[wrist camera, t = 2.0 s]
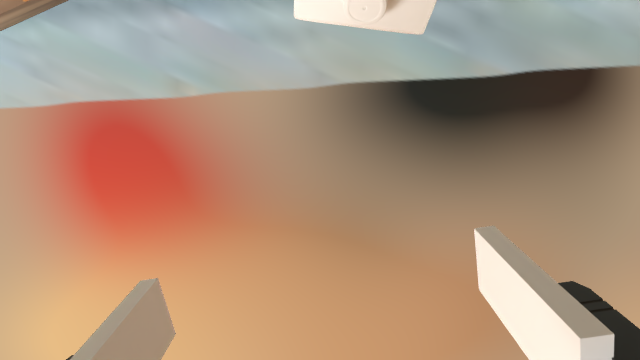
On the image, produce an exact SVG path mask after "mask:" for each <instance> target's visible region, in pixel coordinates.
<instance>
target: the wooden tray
mask: <svg viewBox="0 0 640 360" xmlns="http://www.w3.org/2000/svg"><path fill="white" fill-rule="evenodd" d="M66 1H68V0H0V31H2V30H4V29H6V28H8V27H11V26H13V25H15V24H17V23H19V22H22V21H24V20H26V19H28V18H30V17H33V16H35V15H37V14H39V13H41V12H44V11H46V10H48V9H50V8H53V7H55V6H57V5H59V4H61V3H64V2H66Z"/></svg>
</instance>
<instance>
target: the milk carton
mask: <svg viewBox="0 0 640 360" xmlns="http://www.w3.org/2000/svg"><path fill="white" fill-rule="evenodd" d="M436 1H437V0H294V17H295V18H296V19H300V20H305V21H312V22H320V23H327V24H335V25H343V26H351V27H359V28H367V29H375V30H382V31H390V32H398V33H407V34H423V33H424V31H425V28H426V26H427V23H428V21H429V18H430V16H431V13H432V11H433V9H434V6H435V4H436Z"/></svg>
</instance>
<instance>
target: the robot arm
mask: <svg viewBox="0 0 640 360" xmlns="http://www.w3.org/2000/svg"><path fill="white" fill-rule="evenodd" d="M474 231H475V244H476V257H477V269H478V283H479V290H480V291H481V293H482V294H483V296H484V297H485V298H486V300H487V301H488V303H489V304H490V305H491V307H492V308H493V310H494V311H495V312H496V314H497V315H498V317H499V318H500V319H501V321H502V322H503V324H504V325H505V326H506V328H507V329H508V331H509V332H510V333H511V335H512V336H513V338H514V339H515V340H516V342H517V343H518V345H519V346H520V347H521V349H522V350H523V352H524V353H525V354H526V356H527V357H528V359H529V360H640V329H639V328H638V327H636V326H635V325H634V324H633V323H631V322H630V321H629V320H628V319H627V318H625V317H624V316H623V315H622V314H620V313H619V312H618V311H617V310H614V309H613V307H612V306H610V305H609V304H608V303H607V302H605V301H603V299H602V298H601V297H599V296H598V295H597V294H596V293H594V292H593V291H592V290H591V289H589V288H587V287H585V286H582V285H580V284H578V283H576V282H573V281H570V282H563V283H557V282H556V281H555V280H554V279H552V278H551V277H550V276H549V275H548V274H547V273H546V272H545V271H544V270H542V269H541V268H540V267H539V266H538V265H537V264H536V263H535V262H533V261H532V260H531V259H530V258H529V257H528V256H527V255H526V254H525V253H524V252H522V251H521V250H520V249H519V248H518V247H517V246H516V245H515V244H514V243H512V242H511V241H510V240H509V239H508V238H507V237H506V236H505V235H503V234H502V233H501V232H500V231H499V230H498V229H497V228H496V227H495V226H489V227H482V228H476V229H474ZM175 334H176V333H175V330H174V327H173V324H172V321H171V318H170V315H169V311H168V308H167V305H166V302H165V299H164V296H163V293H162V290H161V286H160V283H159V280H158V278H156V279H149V280H143V281H140V282H139V283H138V284H137V285H136V287H135V288H134V289H133V290H132V291H131V292H130V293H129V294H128V295H127V296H126V298H125V299H124V300H123V301H122V302H121V303H120V304H119V305H118V307H117V308H116V309H115V310H114V311H113V312H112V313H111V314H110V315H109V317H108V318H107V319H106V320H105V321H104V322H103V323H102V324H101V325H100V327H99V328H98V329H97V330H96V331H95V332H94V333H93V334H92V336H91V337H90V338H89V339H88V340H87V341H86V342H85V343H84V345H83V346H82V347H81V348H80V349H79V350H78V351H77V352H76V353H75V355H72V356H70V357H69V358H68V359H66V360H161V359H162V357H163V355H164V353H165V352H166V350H167V348H168V347H169V345H170V343H171V341H172V340H173V338H174V336H175Z"/></svg>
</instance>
